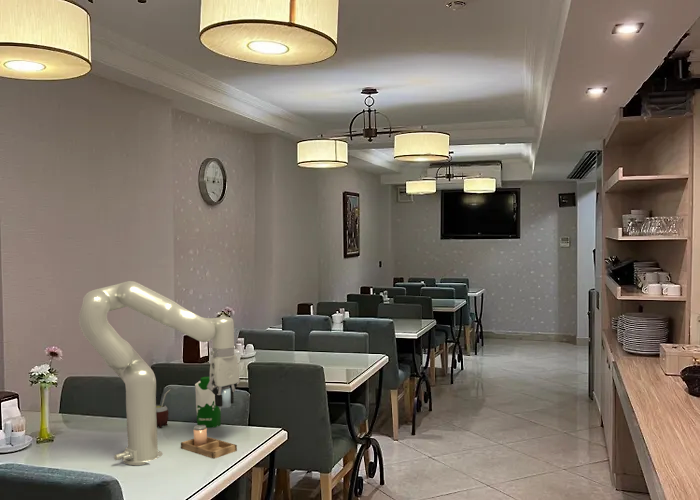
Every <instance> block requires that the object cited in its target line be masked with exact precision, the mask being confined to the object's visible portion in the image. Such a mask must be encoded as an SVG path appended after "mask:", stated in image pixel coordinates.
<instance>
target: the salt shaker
mask: <svg viewBox="0 0 700 500" xmlns="http://www.w3.org/2000/svg"><path fill="white" fill-rule="evenodd" d="M230 386H231V385H228V386H223V387H222V389H221V395H222V406H221V407H220V406H218V407H219V408H221V409H227V408H231V407H232V404H231V388H230Z"/></svg>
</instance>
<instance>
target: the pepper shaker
mask: <svg viewBox="0 0 700 500" xmlns="http://www.w3.org/2000/svg"><path fill="white" fill-rule="evenodd" d="M207 432H208V428H206V425H197V424H196V425H194V426H193V439H194V446H201V445H204V444H207V437H208V433H207Z"/></svg>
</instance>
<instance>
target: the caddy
mask: <svg viewBox="0 0 700 500" xmlns="http://www.w3.org/2000/svg"><path fill="white" fill-rule="evenodd" d="M237 447H238V445H237V444H234V443H231V442H228V441H224V440H221V439H217V438H213V437H209V436H207V444H204V445H201V446H194V438H192V439H187V440H185V441H181V442H180V449H182V450H185V451H188V452H191V453H195V454H197V455H201V456H204V457H205V458H206V457H207V458H210V459H217V458H220V457H224V456H227V455H229V454H232V453H235V452H237V451H238V449H237Z"/></svg>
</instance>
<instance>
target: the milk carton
mask: <svg viewBox="0 0 700 500" xmlns="http://www.w3.org/2000/svg"><path fill="white" fill-rule="evenodd" d="M209 381H210V376H202V377H200V380H199V381H198V382H196V383H195V384H194V387H195V388H194V389H195V411H196V412H195V413H196V426H197V425H206V428H207V429H208V428H210V429H211V428H217V427H220V426H221V423H222V422H221V420H222V419H221V418H222V414H221V413H222V410H221V409H222V408H219V407H218V406H216V405H215V394H213V392H212V391H211V390H209V389H208V388H207V385H208V383H209ZM213 387H214V386H213ZM217 390H218V388H217Z"/></svg>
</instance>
